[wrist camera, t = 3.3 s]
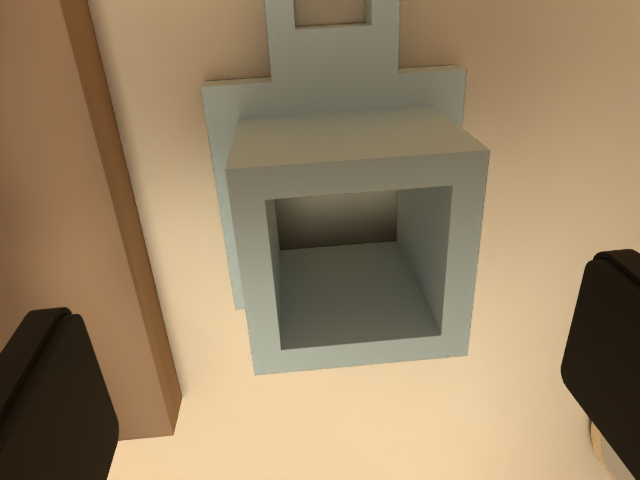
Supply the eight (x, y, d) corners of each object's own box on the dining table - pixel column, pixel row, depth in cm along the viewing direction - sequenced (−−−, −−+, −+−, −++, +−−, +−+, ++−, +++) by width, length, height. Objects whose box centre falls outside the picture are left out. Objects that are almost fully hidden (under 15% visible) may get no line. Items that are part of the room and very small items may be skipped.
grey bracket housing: (440, 277, 20) (498, 378, 15) (237, 294, 19) (223, 405, 14) (468, -109, 14) (579, -162, 9) (178, -95, 13) (119, -142, 8)
